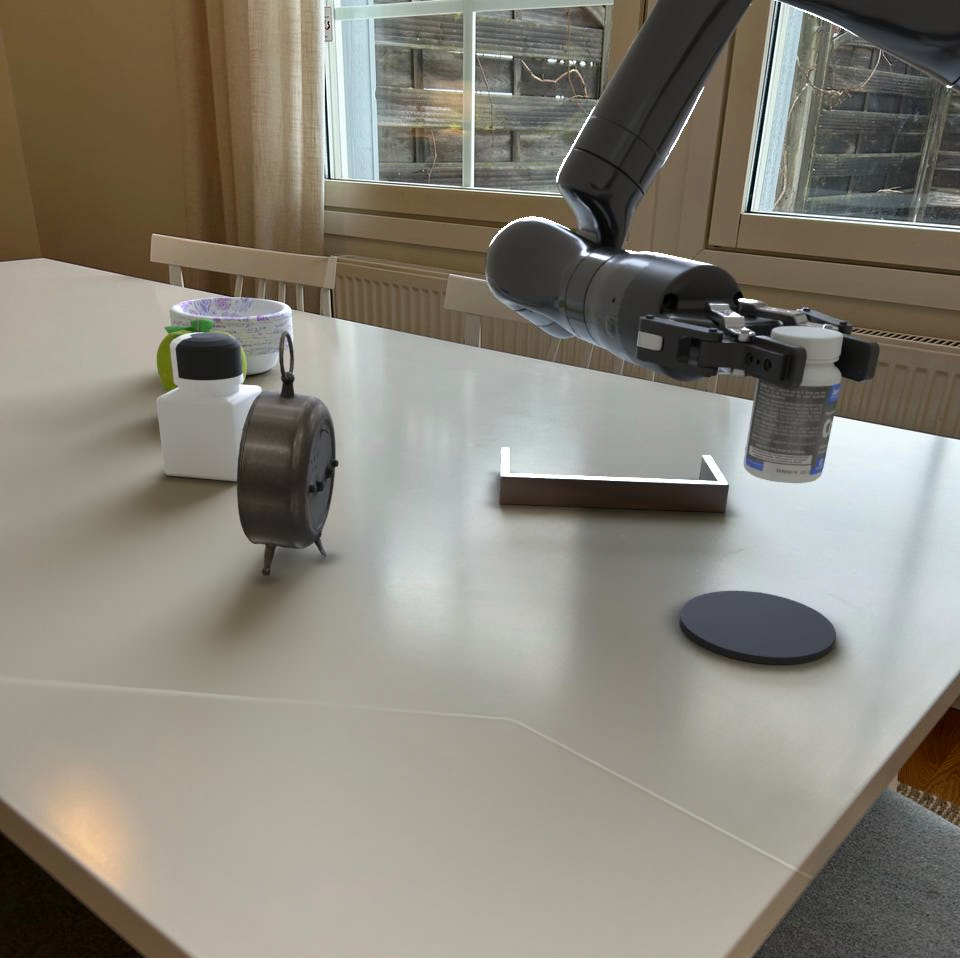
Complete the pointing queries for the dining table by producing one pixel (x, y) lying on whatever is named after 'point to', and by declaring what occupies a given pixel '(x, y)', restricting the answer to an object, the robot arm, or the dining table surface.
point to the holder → (616, 490)
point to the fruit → (165, 355)
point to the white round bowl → (242, 325)
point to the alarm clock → (286, 467)
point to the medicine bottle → (204, 407)
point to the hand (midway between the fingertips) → (836, 366)
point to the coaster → (757, 627)
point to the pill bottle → (796, 412)
